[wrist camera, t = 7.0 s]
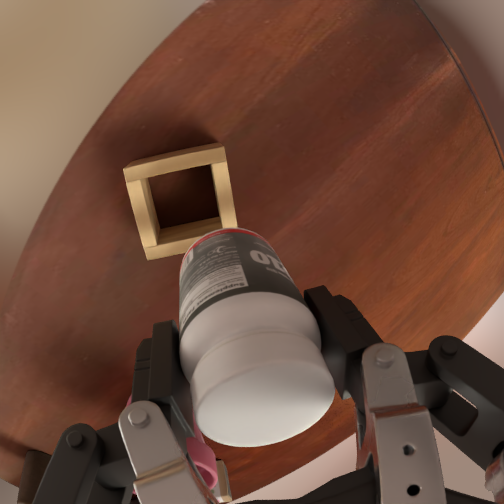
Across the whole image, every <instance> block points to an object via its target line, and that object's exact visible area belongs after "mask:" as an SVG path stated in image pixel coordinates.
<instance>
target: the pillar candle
mask: <svg viewBox="0 0 504 504" xmlns="http://www.w3.org/2000/svg"><path fill="white" fill-rule="evenodd" d="M51 457H52V456H50V455H48V454H45V453H43V452H40V451H28V452H27V453H26V458H25V462H24V467H23V472H22V477H21V482H20V487H19V493H18V500H17V504H32V503H33V500H34V498H35V495H36V492H37V490H38V487H39V485H40V483H41V480H42V478H43V475H44V473H45V471H46V468H47V466H48V464H49V461H50V459H51Z"/></svg>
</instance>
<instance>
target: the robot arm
mask: <svg viewBox="0 0 504 504" xmlns="http://www.w3.org/2000/svg"><path fill="white" fill-rule="evenodd" d="M304 300H305V302H306V303H307V305H308V307H309V309H310V310H311V312H312V313H313V315H314V317H315V318H316V321H317V324H318V326H319V329H320V334H321V351H320V352H321V353H322V355H323V358H324V361H325V363H326V365H327V367H328V369H329V372H330V374H331V376H332V378H333V380H334V385H335V387H336V389H337V391H338V393H339V395H340V397H341V399H342V400H344V399H347V398H350V397H352V398H353V400H354V402H355V408H354V413H355V427H356V442H357V463H356V471H353V472H350V473H348V474H345V475H342V476H340V477H337V478H334V479H332V480H330V481H329V482H327V483H326V484H324V485H322V486H320V487H319V488H317V489H315V490H314V491H312V492H310V493H308V494H306V495H304V496H303V497H300V498H298V499H289V500H288V499H287V500H253V501H248V502H242V503H237V504H504V369H503V368H502V367H500V366H499V365H497V364H496V363H494V362H493V361H491V360H490V359H488V358H487V357H485V356H484V355H482V354H481V353H479V352H478V351H476V350H475V349H474V348H472V347H471V346H469V345H467V344H466V343H464V342H463V341H461V340H460V339H458V338H456V337H453V336H439V337H437V338H435V339H434V340H433V341H432V342H431V343H430V345H429V349H428V350H423V351H415V352H403V350H402V349H401V348H399V347H398V346H396V345H394V344H390V343H384V342H383V341H382V339H381V338H380V337H379V335H378V334H377V333H376V332H375V330H374V329H373V328H372V327H371V325H370V324H369V323H368V321H367V320H366V319H365V318H363V315H362V314H361V313H360V311H358V309H357V308H356V306H355V305H354V304H353V303H352V301H351V300H349V299H347V298H345V297H343V296H342V295H337V296H332V295H331V293H330V292H329V291H328V289H327V288H326V287H325V286H324V285H322V286H319V287H315V288H311V289H307V290H304ZM135 361H136V363H135V368H134V370H135V372H134V376H133V385H132V395H131V404H130V405H129V406H127V407H126V408H125V409H124V410H123V411H122V413H121V414H120V417H119V421H118V422H117V423H115V424H113V425H110V426H108V427H105V428H102V429H100V430H97V431H95V430H94V429H93V428H92V427H91V426H89V425H87V424H83V423H79V424H74V425H72V426H70V427H69V428H67V429H66V430H65V431H64V432H63V433H62V435H61V437H60V439H59V441H58V444H57V446H56V448H55V450H54V452H53V455H52V457H51V459H50V461H49V464H48V466H47V468H46V471H45V473H44V475H43V478H42V480H41V483H40V485H39V487H38V490H37V492H36V495H35V498H34V500H33V503H32V504H130V501H131V497H132V494H133V490H134V489H135V492H136V494H137V497H138V499H139V502H140V504H220V503H219V502H218V500H217V499H216V498H215V496H214V495H213V493H212V492H211V490H210V489H209V487H208V485H207V484H206V482H205V480H204V479H203V477H202V475H201V473H200V472H199V470H198V468H197V466H196V465H195V463H194V461H193V459H192V458H191V456H190V454H189V452H188V451H187V442H186V438H188V437H195V432H194V421H193V410H192V399H191V394H190V383H189V382H188V380H187V379H186V377H185V375H184V373H183V371H182V368H181V364H180V355H179V331H178V328H177V326H176V323H175V321H174V320H169V321H164V322H159V323H154V325H153V334H152V338H148V339H143V341H142V342H141V344H140V345H139V347H138V349H137V352H136V360H135ZM453 389H454V390H455V391H457V392H458V393H459V394H461V395H462V396H463V397H465V398H466V399H467V400H468V401H470V402H471V403H472V404H474V405H475V406H476V408H477V409H476V408H475V407H473V406H472V405H471V404H470V403H468V402H467V401H466V400H464V399H463V398H462V397H460V396H459V395H458V394H457V393H455V392H454V391H453ZM433 427H434V428H435V429H436V430H438V431H439V432H440V433H441V434H442V435H443V436H445V437H446V438H447V439H448V440H449V441H450V442H452V443H453V444H454V445H455V446H456V447H458V448H459V449H460V450H461V451H462V452H463V453H464V454H466V455H467V456H468V457H469V458H470V459H472V460H473V461H474V462H475V463H476V464H477V465H479V466H480V467H481V468H482V469H483V470H485V471H486V473H485V480H486V482H485V488H486V489H487V490H488V491H492V493H493V495H494V499H495V502H492V501H488V500H484V499H480V498H477V497H473V496H470V495H466V494H463V493H460V492H457V491H454V490H450V489H448V488H445V487H444V481H443V475H442V470H441V464H440V459H439V454H438V449H437V444H436V439H435V435H434V430H433Z"/></svg>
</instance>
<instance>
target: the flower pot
mask: <svg viewBox="0 0 504 504" xmlns="http://www.w3.org/2000/svg"><path fill="white" fill-rule="evenodd" d="M131 395H132V394H131ZM130 404H131V396H130V397H129V400H128V402H127V405H126V407H127V406H129V405H130ZM126 407H125V408H126ZM193 421H194V432H195V437H188V438H186V442H187V451H188V452H189V454H190V456H191V458H192V459H193V461H194V463H195V465H196V466H197V468H198V470H199V472H200V473H201V475H202V477H203V479H204V480H205V482H206V484H207V485H208V487H209V489H210V490H211V489H212V488H213V487H214V486H215V485H216V483H217V481H218V475H217V466H216V459H215V454H214V452H213V451H212V449H211V448H210V447H209V446H208V445H206V444H205V443H204V440H203V437H202V435H201V432H200V429H199V428H198V426H197V425H196V422H195V418H194V412H193ZM133 494H136V492H135V489H134V490H133Z"/></svg>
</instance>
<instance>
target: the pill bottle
mask: <svg viewBox="0 0 504 504" xmlns="http://www.w3.org/2000/svg"><path fill="white" fill-rule="evenodd" d="M179 303H180V306H179V355H180V364H181V368H182V371H183V373H184V375H185V377H186V379H187V380H188V382H189V383H190V394H191V398H192V404H193V412H194V418H195V422H196V425H197V426H198V428H199V429H200V430H201V432H202V433H203V434H205V435H206V436H207V437H208V438H210V439H212V440H214V441H216V442H219V443H222V444H225V445H230V446H237V447H255V446H263V445H268V444H273V443H276V442H280V441H283V440H285V439H288V438H290V437H293V436H295V435H297V434H299V433H301V432H303V431H304V430H306V429H307V428H309V427H310V426H312V425H313V424H314V423H316V422H317V421H318V420H319V419H320V418H321V417H322V416H323V415H324V414H325V413H326V411H327V410H328V408H329V407H330V405H331V403H332V401H333V399H334V394H335V385H334V380H333V378H332V376H331V374H330V372H329V369H328V367H327V365H326V363H325V361H324V358H323V355H322V353H321V352H320V351H321V334H320V329H319V326H318V324H317V321H316V318H315V317H314V315H313V313H312V312H311V310H310V309H309V307H308V305H307V303H306V302H305V300H304V299H303V297H302V295H301V294H300V292H299V290H298V288H297V287H296V285H295V284H294V282H293V280H292V279H291V277H290V275H289V274H288V272H287V270H286V269H285V267H284V266H283V264H282V262H281V261H280V259H279V258H278V256H277V254H276V252H275V251H274V249H273V248H272V246H271V245H270V244H269V243H268V242H267V241H266V240H265V239H264V238H263V237H261V236H260V235H258V234H257V233H255V232H252V231H250V230H247V229H243V228H233V227H231V228H223V229H219V230H215V231H212V232H210V233H207V234H205V235H204V236H202V237H200V238H199V239H198V240H197V241H195V242H194V243H193V244H192V246H191V247H190V248H189V249H188V251H187V252H186V254H185V256H184V258H183V261H182V264H181V269H180V301H179Z"/></svg>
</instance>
